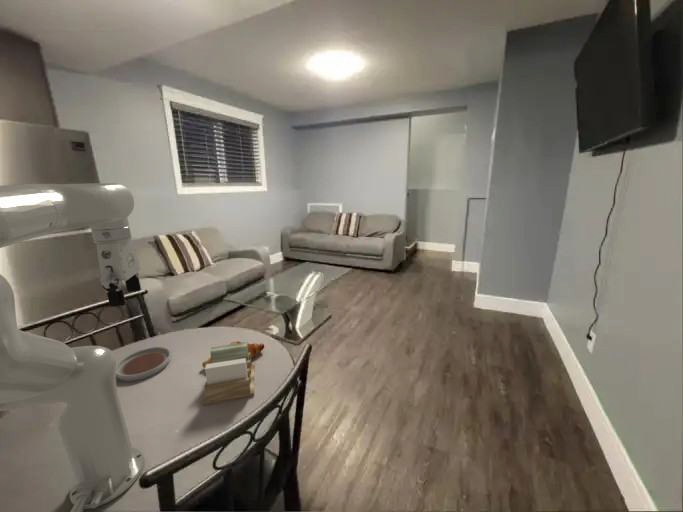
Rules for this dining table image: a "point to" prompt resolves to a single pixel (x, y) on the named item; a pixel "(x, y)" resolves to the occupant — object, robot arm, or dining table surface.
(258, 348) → the croissant
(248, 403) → the dining table surface
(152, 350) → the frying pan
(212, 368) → the white rectangular slab
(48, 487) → the dining table surface
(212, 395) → the rack
